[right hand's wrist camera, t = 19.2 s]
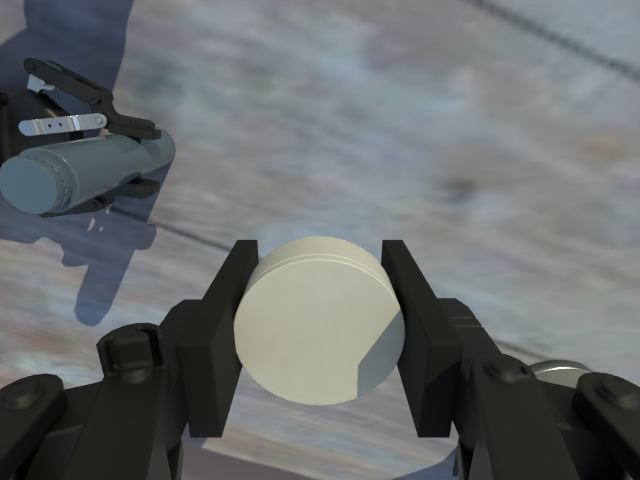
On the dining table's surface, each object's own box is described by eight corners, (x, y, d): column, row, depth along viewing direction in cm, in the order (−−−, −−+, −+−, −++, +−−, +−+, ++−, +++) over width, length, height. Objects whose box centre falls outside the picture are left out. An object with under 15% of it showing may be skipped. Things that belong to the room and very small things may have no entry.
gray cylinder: (177, 131, 39) (62, 160, 21) (174, 170, 40) (64, 226, 23) (136, 122, 39) (-14, 144, 21) (135, 162, 40) (-7, 212, 22)
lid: (275, 381, 13) (269, 422, 12) (220, 262, 12) (204, 289, 10) (408, 345, 13) (422, 382, 11) (370, 215, 11) (379, 236, 9)
